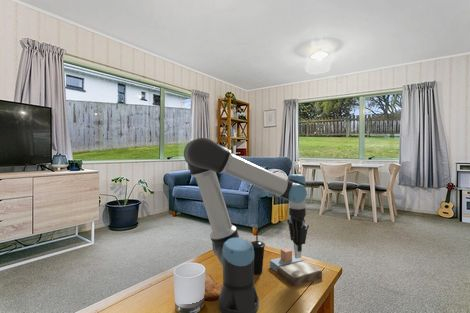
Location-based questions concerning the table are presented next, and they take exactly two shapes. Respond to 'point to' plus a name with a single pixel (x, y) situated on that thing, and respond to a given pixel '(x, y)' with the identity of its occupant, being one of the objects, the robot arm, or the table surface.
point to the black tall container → (258, 255)
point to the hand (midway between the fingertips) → (297, 257)
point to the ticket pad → (299, 273)
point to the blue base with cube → (284, 259)
